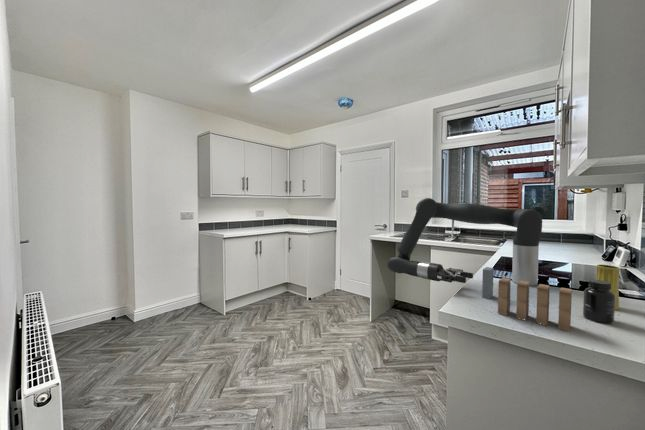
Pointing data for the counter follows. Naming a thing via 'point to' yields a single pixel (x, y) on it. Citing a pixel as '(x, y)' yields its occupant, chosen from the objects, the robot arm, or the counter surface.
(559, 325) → the domino
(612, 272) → the vase
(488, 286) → the domino
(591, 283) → the supplement bottle
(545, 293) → the domino
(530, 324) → the counter surface
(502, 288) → the domino
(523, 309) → the domino
